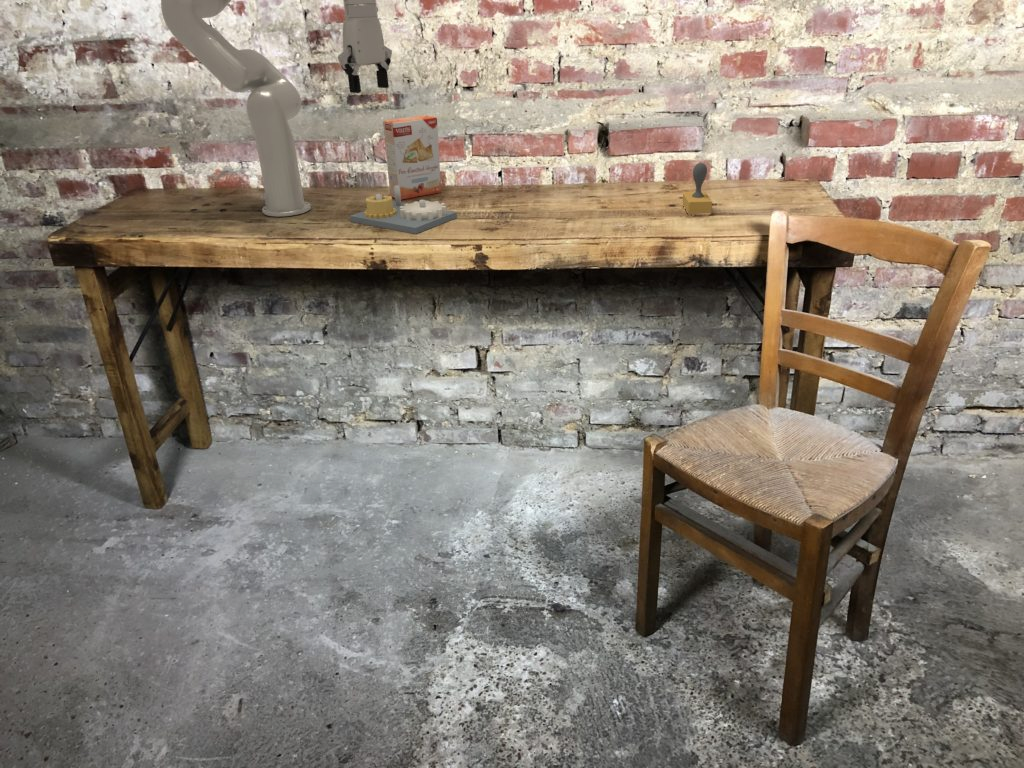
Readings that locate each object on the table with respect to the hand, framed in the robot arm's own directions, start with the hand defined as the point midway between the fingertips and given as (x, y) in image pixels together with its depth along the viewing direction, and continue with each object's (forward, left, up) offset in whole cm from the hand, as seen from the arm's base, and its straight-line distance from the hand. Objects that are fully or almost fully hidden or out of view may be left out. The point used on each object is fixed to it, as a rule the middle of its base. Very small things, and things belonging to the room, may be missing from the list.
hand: (369, 90), depth 187 cm
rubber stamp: (+71, +40, -31) cm, 87 cm away
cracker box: (-4, +18, -31) cm, 36 cm away
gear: (+5, -6, -29) cm, 30 cm away
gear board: (+10, -3, -30) cm, 32 cm away
